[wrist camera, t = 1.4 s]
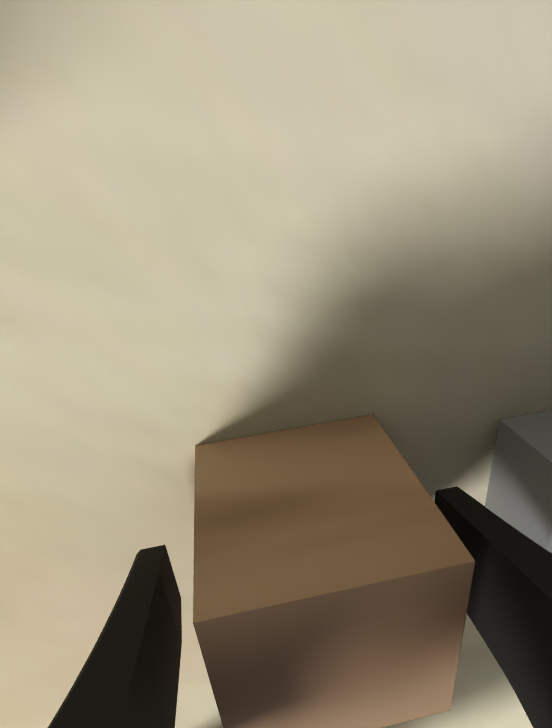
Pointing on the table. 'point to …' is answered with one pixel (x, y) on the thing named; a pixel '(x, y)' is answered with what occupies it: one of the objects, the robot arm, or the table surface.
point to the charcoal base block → (524, 476)
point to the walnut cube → (324, 580)
